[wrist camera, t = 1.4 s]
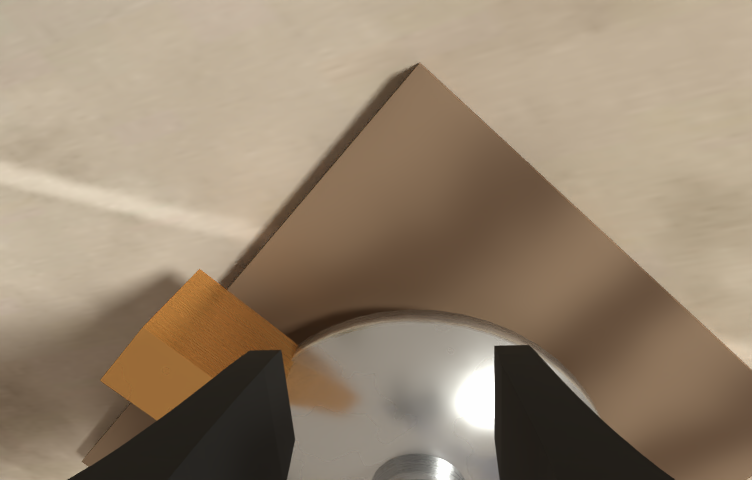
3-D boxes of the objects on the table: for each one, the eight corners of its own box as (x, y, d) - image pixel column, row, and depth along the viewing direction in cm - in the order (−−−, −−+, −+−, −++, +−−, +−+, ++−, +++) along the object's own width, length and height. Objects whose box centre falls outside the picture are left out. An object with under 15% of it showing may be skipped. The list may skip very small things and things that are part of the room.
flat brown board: (801, 415, 21) (837, 452, 19) (419, 666, 28) (419, 711, 26) (419, 62, 18) (418, 65, 16) (94, 445, 25) (67, 478, 23)
